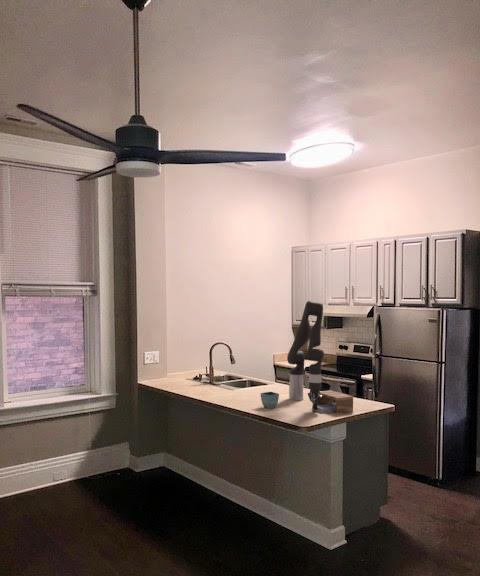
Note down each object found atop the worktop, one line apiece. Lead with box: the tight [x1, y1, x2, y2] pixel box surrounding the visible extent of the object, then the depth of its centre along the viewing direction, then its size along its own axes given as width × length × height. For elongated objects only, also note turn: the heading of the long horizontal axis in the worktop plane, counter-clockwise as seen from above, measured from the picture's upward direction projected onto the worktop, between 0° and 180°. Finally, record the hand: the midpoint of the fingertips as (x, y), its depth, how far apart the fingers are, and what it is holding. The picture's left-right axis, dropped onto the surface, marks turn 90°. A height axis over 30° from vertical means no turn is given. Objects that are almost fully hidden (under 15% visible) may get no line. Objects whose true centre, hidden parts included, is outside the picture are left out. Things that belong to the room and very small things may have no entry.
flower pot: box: [259, 391, 280, 409], centre depth 318 cm, size 9×9×9 cm
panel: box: [311, 402, 336, 414], centre depth 311 cm, size 10×16×3 cm, turn 116°
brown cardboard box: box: [317, 389, 354, 415], centre depth 314 cm, size 22×12×10 cm, turn 28°
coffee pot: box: [321, 376, 343, 403], centre depth 344 cm, size 21×12×15 cm, turn 38°
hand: (314, 409), depth 308 cm, fingers closed
